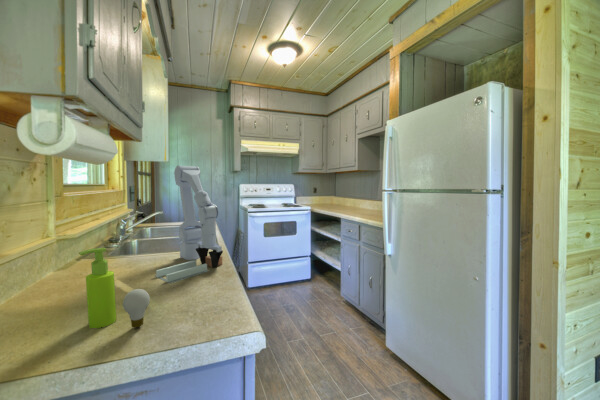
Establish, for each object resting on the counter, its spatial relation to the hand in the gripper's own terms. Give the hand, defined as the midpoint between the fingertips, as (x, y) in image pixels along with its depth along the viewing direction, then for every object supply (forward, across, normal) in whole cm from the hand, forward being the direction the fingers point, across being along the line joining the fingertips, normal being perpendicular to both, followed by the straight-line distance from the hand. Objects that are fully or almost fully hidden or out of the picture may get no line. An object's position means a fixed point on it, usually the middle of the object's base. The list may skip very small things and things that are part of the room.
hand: (209, 265), depth 113 cm
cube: (-1, 0, 0) cm, 1 cm away
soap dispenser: (+2, +14, -43) cm, 45 cm away
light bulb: (+2, +24, -38) cm, 45 cm away
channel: (+1, 0, -12) cm, 12 cm away
